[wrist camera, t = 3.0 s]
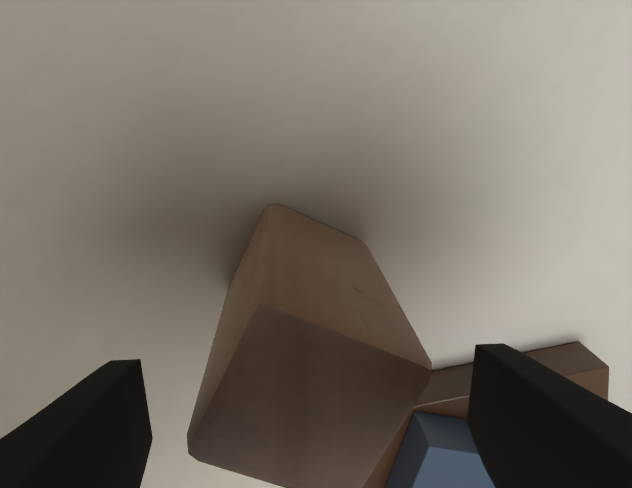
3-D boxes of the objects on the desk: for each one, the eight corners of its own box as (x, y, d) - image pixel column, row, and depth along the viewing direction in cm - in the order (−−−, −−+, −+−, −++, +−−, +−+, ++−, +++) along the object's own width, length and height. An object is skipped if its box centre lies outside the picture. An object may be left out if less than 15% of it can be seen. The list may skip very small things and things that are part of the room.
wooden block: (369, 242, 16) (446, 371, 9) (322, 331, 17) (352, 517, 10) (268, 197, 15) (254, 296, 8) (225, 294, 16) (176, 463, 9)
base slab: (357, 578, 22) (363, 619, 20) (315, 394, 18) (318, 425, 16) (577, 533, 22) (602, 571, 20) (579, 341, 18) (610, 366, 16)
